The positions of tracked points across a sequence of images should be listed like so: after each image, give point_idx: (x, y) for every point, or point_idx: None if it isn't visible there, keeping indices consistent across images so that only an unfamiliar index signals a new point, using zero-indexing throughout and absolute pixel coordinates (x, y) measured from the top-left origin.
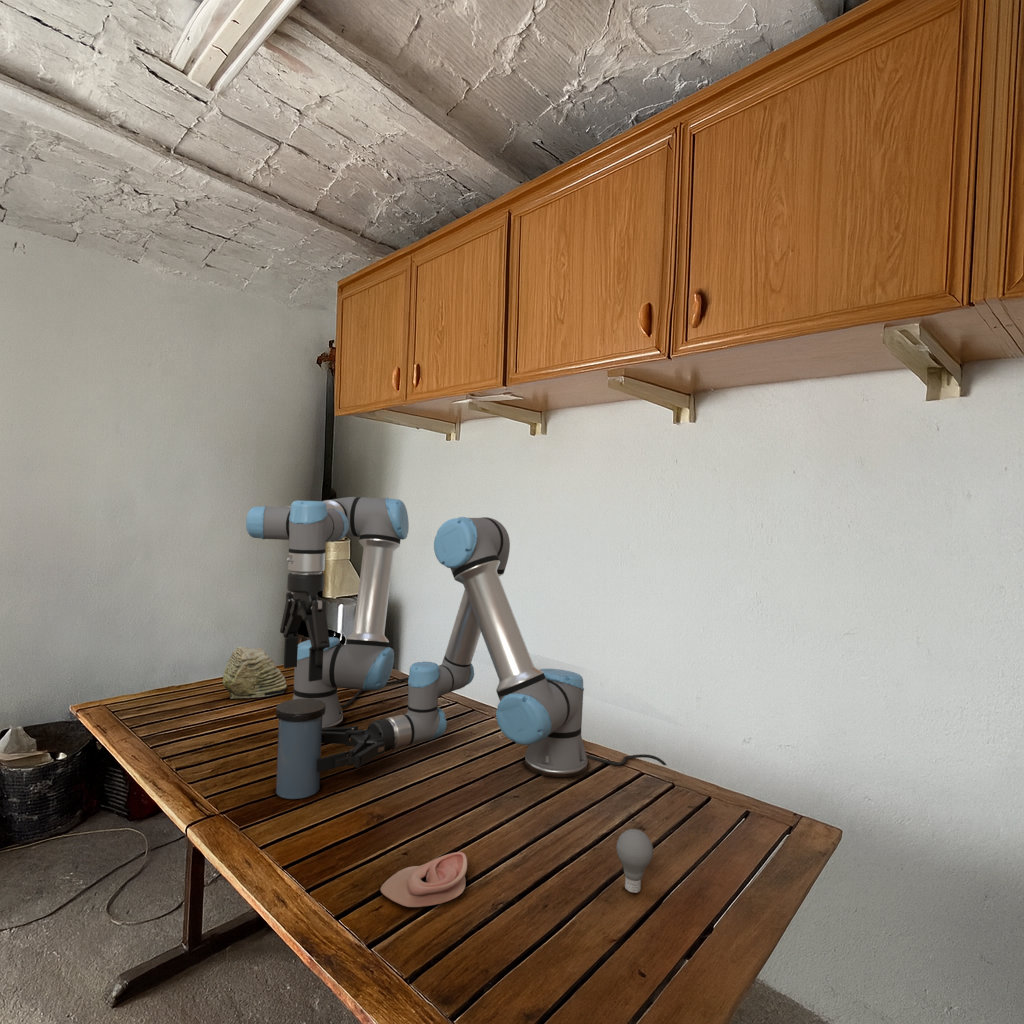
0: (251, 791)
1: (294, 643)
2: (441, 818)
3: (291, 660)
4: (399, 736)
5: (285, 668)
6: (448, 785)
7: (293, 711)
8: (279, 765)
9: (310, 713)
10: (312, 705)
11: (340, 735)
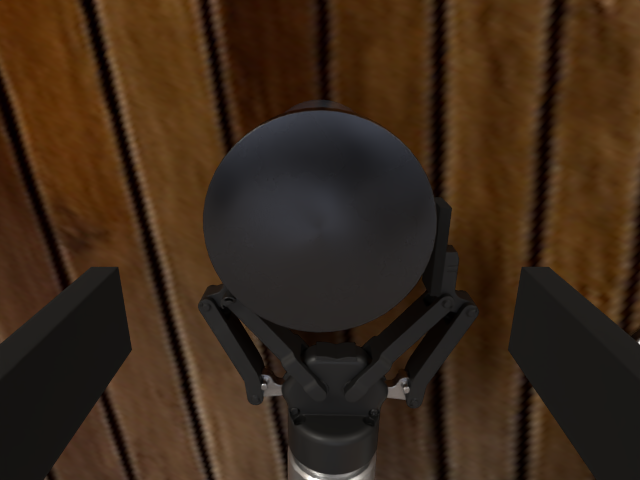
0: (387, 50)
1: (624, 478)
2: (8, 336)
3: (538, 340)
4: (288, 454)
5: (522, 269)
6: (137, 422)
7: (261, 166)
8: (315, 105)
9: (203, 222)
10: (295, 273)
11: (389, 342)
